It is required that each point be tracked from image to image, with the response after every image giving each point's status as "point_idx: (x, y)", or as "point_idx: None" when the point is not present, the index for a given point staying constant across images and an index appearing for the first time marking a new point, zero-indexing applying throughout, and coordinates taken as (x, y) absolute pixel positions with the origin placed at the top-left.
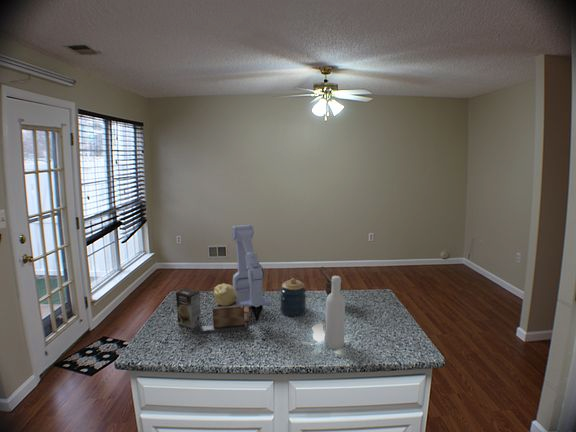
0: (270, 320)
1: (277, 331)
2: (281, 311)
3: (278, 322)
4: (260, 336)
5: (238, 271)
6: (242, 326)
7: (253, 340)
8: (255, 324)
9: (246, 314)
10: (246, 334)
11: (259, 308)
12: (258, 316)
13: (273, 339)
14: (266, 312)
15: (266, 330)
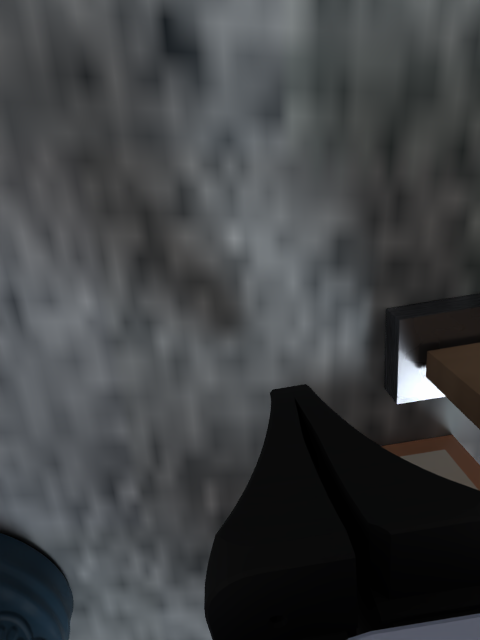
0: (147, 458)
1: (26, 250)
2: (57, 581)
3: (57, 427)
4: (228, 132)
5: None
6: (449, 321)
7: (319, 20)
8: None
9: None
10: (400, 190)
11: (295, 560)
12: (280, 424)
13: (36, 33)
14: (200, 566)
15: (166, 275)
